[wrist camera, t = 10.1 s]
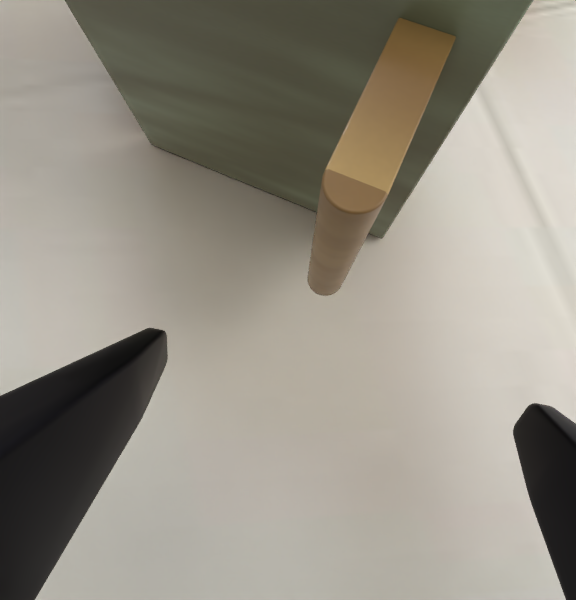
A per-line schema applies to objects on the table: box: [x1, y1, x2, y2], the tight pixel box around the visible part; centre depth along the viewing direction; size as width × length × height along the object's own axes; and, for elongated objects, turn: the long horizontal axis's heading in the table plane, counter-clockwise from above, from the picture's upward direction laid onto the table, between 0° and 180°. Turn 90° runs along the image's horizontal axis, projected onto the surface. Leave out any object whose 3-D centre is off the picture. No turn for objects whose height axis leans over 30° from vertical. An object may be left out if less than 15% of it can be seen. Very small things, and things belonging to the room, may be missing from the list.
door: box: [65, 0, 533, 296], centre depth 14 cm, size 7×16×14 cm, turn 65°
